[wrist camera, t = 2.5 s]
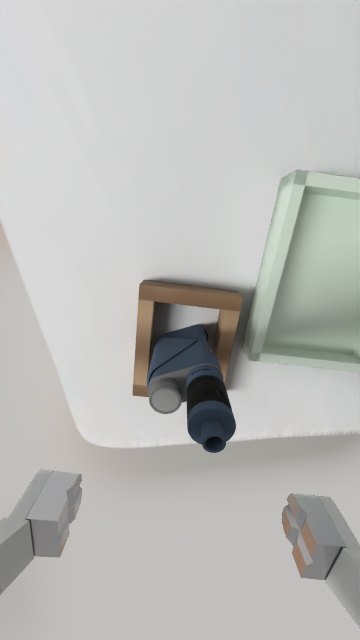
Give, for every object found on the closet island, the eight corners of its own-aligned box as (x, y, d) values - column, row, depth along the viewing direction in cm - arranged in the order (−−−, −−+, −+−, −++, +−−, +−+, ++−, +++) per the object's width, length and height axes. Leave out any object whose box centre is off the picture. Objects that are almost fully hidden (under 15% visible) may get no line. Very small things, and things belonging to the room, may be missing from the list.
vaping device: (213, 344, 22) (248, 458, 11) (161, 359, 22) (140, 482, 11) (206, 320, 21) (235, 415, 10) (152, 335, 22) (119, 442, 10)
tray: (281, 179, 17) (296, 169, 15) (419, 198, 18) (456, 192, 15) (242, 347, 22) (249, 360, 20) (352, 359, 22) (372, 374, 20)
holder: (143, 280, 20) (139, 284, 18) (237, 291, 20) (243, 297, 18) (136, 382, 23) (132, 395, 21) (216, 391, 24) (219, 404, 22)
